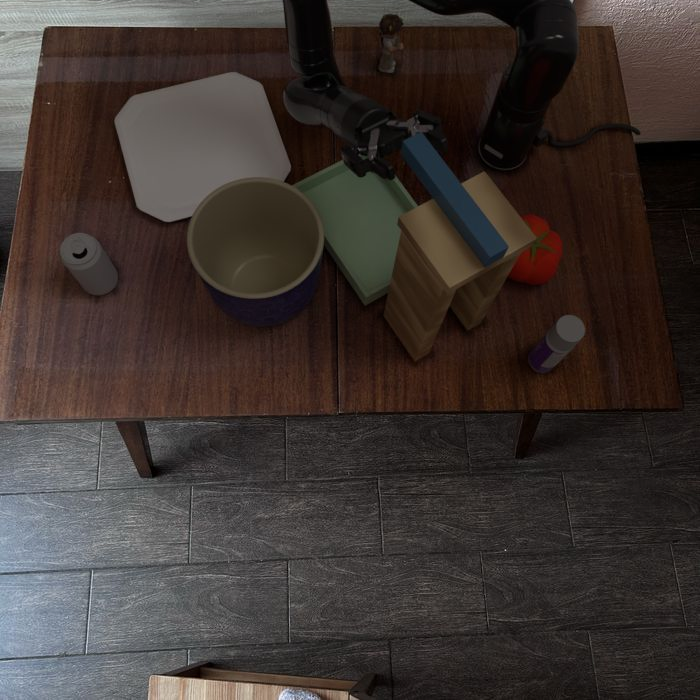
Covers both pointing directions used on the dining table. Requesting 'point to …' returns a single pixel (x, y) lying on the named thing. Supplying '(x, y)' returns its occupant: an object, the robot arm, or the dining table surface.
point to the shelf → (448, 267)
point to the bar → (453, 200)
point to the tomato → (538, 254)
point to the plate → (197, 142)
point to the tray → (359, 224)
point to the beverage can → (89, 263)
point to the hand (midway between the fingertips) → (418, 159)
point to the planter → (257, 249)
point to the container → (556, 343)
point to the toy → (389, 40)
